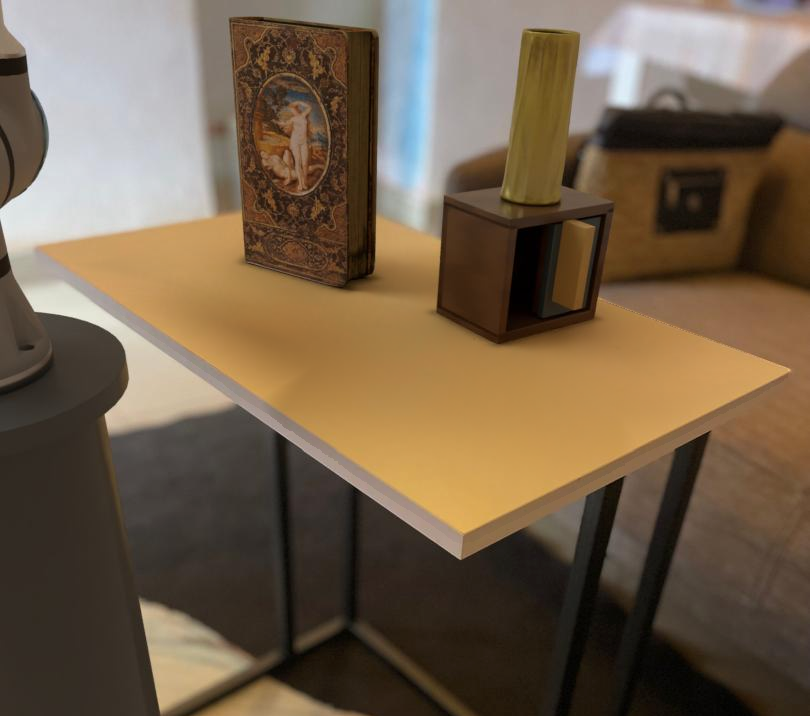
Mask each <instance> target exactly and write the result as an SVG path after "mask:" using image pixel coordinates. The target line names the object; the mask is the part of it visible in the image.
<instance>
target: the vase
mask: <svg viewBox="0 0 810 716" xmlns="http://www.w3.org/2000/svg"><path fill="white" fill-rule="evenodd" d="M580 43H581V33H580V32H579V31H576V30H567V29H559V28H558V29H557V28H542V27H541V28H540V27H537V28H536V27H535V28H523V29H522V31H521V39H520V49H519V56H518V57H519V58H518V67H517V75H516V86H515V93H514V100H513V107H512V114H511V121H510V129H509V135H508V136H509V137H508V146H507V154H506V160H505V161H506V162H505V168H504V175H503V181H502V185H501V187H502V188H501V192H500V195H501V197H502V198H503V199H505V200H507V201H510V202H513V203H518V204H524V205H535V206H544V205H553V204H556V203H558V202H560V201H561V200H562V195H561V186H562V185H563V184H562V183H563V176H564V171H565V165H566V159H567V158H566V157H567V150H568V142H569V132H570V124H571V115H572V106H573V100H574V88H575V81H576V73H577V68H578V67H577V66H578V60H579V53H580Z"/></svg>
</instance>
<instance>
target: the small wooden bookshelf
mask: <svg viewBox="0 0 810 716" xmlns="http://www.w3.org/2000/svg"><path fill="white" fill-rule="evenodd" d="M501 188H502V186H498V187H491V188H484V189H477V190H470V191H462V192H456V193H449V194H443V202H442V220H441V234H440V249H439V251H440V252H439V263H438V264H439V267H438V281H437V295H436V296H437V297H436V311H435V312H436V313H437V314H439V315H441V316H443V317H445V318H447V319H449V320H451V321H453V322H454V323H457V324H458V325H460V326H462V327H464V328H467V330H470V331H471V332H473V333H476V334H478V335H479V336H482V337H484V338H486V339H487V340H489V341H491V342H493V343H495V344H501V343H505V342H509V341H513V340H516V339H520V338H523V337H527V336H528V337H529V336H532V335H535V334H539V333H542V332H546V331H550V330H554V329H558V328H563V327H565V326H569V325H573V324H578V323H581V322H584V321H588V320H592V319H595V317H596V311H597V305H598V301H599V300H598V299H599V294H600V288H601V284H602V283H601V282H602V279H603V272H604V267H605V261H606V257H607V256H606V255H607V249H608V245H609V240H610V239H609V238H610V234H611V229H612V228H611V227H612V222H613V216H614V211H615V206H616V201H613V200H610V199H606V198H603V197H600V196H596V195H593V194H590V193H587V192H583V191H581V190H578V189H574V188H571V187H568V186H564V185H561V195H562V200H561V201H560V202H558V203H556V204H553V205H544V206H535V205H524V204H518V203H513V202H510V201H507V200H505V199H503V198H502V197H501V195H500V192H501ZM595 215H597V216H600V217H601V221H600V226H599V232H598V238H597V244H596V250H595V255H594V261H593V267H592V273H591V279H590V284H589V290H588V296H587V302H586V307H585V308H582V309H578V310H574V311H570V312H566V313H562V314H558V315H554V316H550V317H546V318H540V317H538V316H537V315H538V308H539V301H540V293H541V286H542V279H543V272H544V265H545V257H546V250H547V243H548V236H549V229H550V223H555V222H561V221H567V220H572V219H578V218H584V217H589V216H595Z"/></svg>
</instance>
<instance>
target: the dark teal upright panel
mask: <svg viewBox="0 0 810 716" xmlns="http://www.w3.org/2000/svg"><path fill="white" fill-rule="evenodd" d="M600 221H601V217H600V216H597V215H595V216H589V217H584V218H578V219H572V220H567V221H561V222H555V223H550V229H549V236H548V243H547V250H546V257H545V265H544V272H543V279H542V286H541V293H540V301H539V308H538V315H537V316H538V317H540V318H546V317H550V316H554V315H558V314H562V313H566V312H570V311H574V310H578V309H582V308H585V307H586V302H587V296H588V290H589V284H590V279H591V273H592V267H593V261H594V255H595V250H596V244H597V238H598V232H599V226H600Z"/></svg>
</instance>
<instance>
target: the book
mask: <svg viewBox="0 0 810 716" xmlns="http://www.w3.org/2000/svg"><path fill="white" fill-rule="evenodd" d="M228 23H229V24H228V27H229V40H230V55H231V71H232V84H233V85H232V86H233V101H234V117H235V129H236V130H235V131H236V143H237V159H238V174H239V175H238V176H239V189H240V190H239V191H240V204H241V205H240V206H241V216H242V217H241V218H242V233H243V234H242V235H243V249H244V262H245V263H247V264H251V265H254V266H258V267H262V268H266V269H270V270H273V271H276V272H280V273H283V274H287V275H290V276H294V277H298V278H301V279H305V280H309V281H312V282H316V283H320V284H324V285H328V286H333V287H337V288H343V287H346V286H347V285H348V282H349V281H351V280H353V279H357V278H364V277H369V276H371V275H373V273H374V271H375V267H376V250H377V249H376V247H377V195H378V194H377V193H378V192H377V191H378V189H377V187H378V185H377V184H378V137H379V136H378V135H379V132H378V130H379V129H378V128H379V80H380V79H379V73H380V72H379V69H380V36H379V32H378V31H377V30H376V29H374V28H369V27H359V26H350V25H344V24H343V25H342V24H335V23H334V24H332V23H325V22H315V21H308V20H307V21H306V20H298V19H297V20H296V19H288V18H278V17H270V16H233V17H229V18H228Z"/></svg>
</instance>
